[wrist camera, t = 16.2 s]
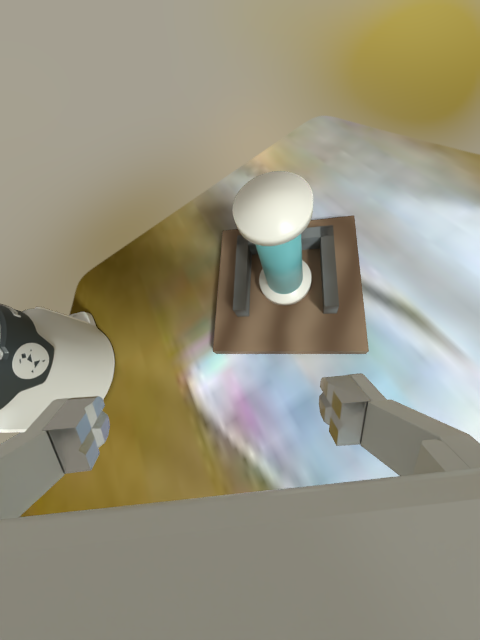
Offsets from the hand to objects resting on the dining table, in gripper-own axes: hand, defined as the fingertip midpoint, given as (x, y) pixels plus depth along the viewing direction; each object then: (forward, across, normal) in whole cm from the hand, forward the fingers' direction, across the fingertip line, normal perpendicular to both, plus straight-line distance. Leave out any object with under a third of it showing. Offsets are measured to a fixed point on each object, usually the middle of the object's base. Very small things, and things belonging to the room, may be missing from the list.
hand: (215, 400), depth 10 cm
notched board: (+26, -9, +3) cm, 27 cm away
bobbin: (+24, -9, +2) cm, 26 cm away
